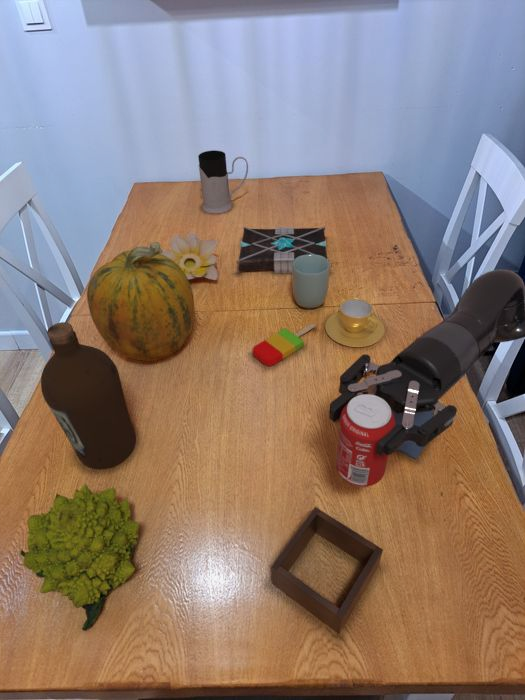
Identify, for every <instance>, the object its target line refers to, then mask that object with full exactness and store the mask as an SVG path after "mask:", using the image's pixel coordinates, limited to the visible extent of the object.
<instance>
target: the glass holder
mask: <svg viewBox="0 0 525 700" xmlns="http://www.w3.org/2000/svg"><path fill="white" fill-rule="evenodd" d="M197 157H198V163H199V164H198V171H199V179H200V186H201V195H202V202H203V203H202V206H201V207H202V210H203V211H204V212H206V213H207V214H223V213H225V212H228V211H230V210H231V209H232V208H233V203H232V202H231V200H232V196H233V195H234V194H235V193H236V192H237V191H238V190H239V189H240V188H241V187H242V186H243V185H244V183H245V182H246V179H247V177H248V172H249V163H248V161H247V159H246V158H245V157H244V156H237V157H235V158H234V159H233V161H232V162H231V165H232V166H231V171H228V169H227V167H228V166H227V157H226V152H225V151H223V150H216V149H215V150H206V151H202V152H201V153H199V154H198V156H197ZM239 159H242V160H243V161H245V164H246V170H245V175H244V178H243V179H242V181H241V183H240V184H239V185H238V186H237V187H236V188H235V189H234V190H233V191H232V192H231V193H230V183H229V175H231V174H233V173H234V170H235V167H234V165H235V162H236V161H237V160H239Z"/></svg>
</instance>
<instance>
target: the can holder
mask: <svg viewBox="0 0 525 700" xmlns="http://www.w3.org/2000/svg"><path fill="white" fill-rule="evenodd" d="M315 534H317V535H319V536H320V537H322V538H323V539H325V540H326V541H328V542H329V543H331V544H332V545H333V546H335V547H337V548H338V549H340V550H342V551H343V552H345V553H346V554H347V555H349V556H351V557H352V558H353V559H355V560H356V561H358V562H360V563H361V564H363V565H364V567H363V569H362V571H361V573H360V574H359V576H358V577H357V579H356V580H355V582H354V584H353V585H352V587H351V589H350V591H349V592H348V594H347V596H346V597H345V599H344V601H343V602H342V604H341V606H340V607H338V606H337V605H336V604H334V603H332V602H331V601H330V600H329V599H327V598H326V597H324V596H323V595H321V594H320V593H318V592H317V591H316V590H314V589H313V588H312V587H311V586H309V585H308V584H307V583H305V582H303V581H302V580H301V579H300V578H298V577H296V575H294V574H292V573H291V572H290V570H291V568H292V567H293V566H294V564H295V562H296V561H297V560H298V558H299V557H300V556H301V554H302V553H303V551H304V550H305V548H306V547H307V545H308V544H309V543H310V541H311V540H312V539H313V537H314V536H315ZM383 551H384V549H383V548H381V546H378V545H377V544H375V543H374V542H372V541H370V540H369V539H367V538H366V537H364V536H363V535H361V534H359V533H357V532H356V531H355V530H353V529H351V528H349V527H348V526H347V525H345V524H343V523H342V522H340V521H339V520H337V519H335V518H334V517H332V516H331V515H329V514H328V513H326V512H324V511H323V510H321V509H320V508H318V507H317V506H315V507H314V508H313V509H312V510H311V512H310V513H309V515H308V516H307V517H306V518H305V520H304V521H303V522H302V524H301V525H300V527H298V529H297V530H296V532H295V534H294V535H293V536H292V538H291V539H290V540H289V541H288V543H287V544H286V546H284V548H283V549H282V551H281V553H280V554H279V555H278V557H277V558H276V560H275V561H274V562H273V563H272V565H271V566H270V569H271V570H270V571H271V573H270V574H271V584H272V585H273V586H274V587H275V588H277V589H278V590H279V591H281V592H282V593H284V594H285V595H286V596H288V597H289V598H290V599H291V600H293V601H294V602H296V604H298V605H299V606H300V607H302V608H303V609H305V611H307V612H309V613H310V614H312V615H313V616H314V617H316V618H317V619H318V620H320V621H321V622H322V623H323V624H325V625H326V626H328V627H329V628H330V629H332V631H334V632H335V633H337V635H340V634H341V632H342V631H343V629H344V627H345V625H346V624H347V623H348V620H349V619H350V617H351V616H352V613H353V612H354V610H355V609H356V606H357V605H358V603H359V602H360V599H361V598H362V596H363V595H364V592H365V591H366V590H367V587H368V586H369V584H370V582H371V580H372V579H373V577H374V575H375V574H376V572H377V570H378V568H379V566H380V562H381V558H382V554H383Z"/></svg>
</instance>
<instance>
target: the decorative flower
mask: <svg viewBox="0 0 525 700" xmlns="http://www.w3.org/2000/svg"><path fill="white" fill-rule="evenodd" d="M218 241H219V240H216V239H214V238H207V239H204V240H200V237H199V234H197V233H196V232H193V231H191V232H188V233H187V235H186V237H184V236H181V235H177V234H176V235H175V234H174V236H172V237H171V239H170V242H169V243H170V244H169V245H170V246H169V247H170V249H166V250H163V252H162V253H160V254H162V255H164V256H166V257H168V258H170V259H171V260H173V261H174V262H175V263H176V264H177V265H178V266H179V267H180V268H181V269H182V270H183V272H184V273H185V275H186V277H187V278H188V280H193V279H196V278H205V279H208V280H214V281H217V279H218V275H219V273H218V270H217V268H216V267H217V266H218V263H217V262H218V257H217V256H216V255H214V254H213V253H214V252H215V250H216V249H217V246H218V244H219V242H218Z"/></svg>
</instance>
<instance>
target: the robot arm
mask: <svg viewBox="0 0 525 700" xmlns="http://www.w3.org/2000/svg"><path fill="white" fill-rule="evenodd" d="M523 338H525V282H524V281H523V278H522V277H521V276H520V275H519V274H518V273H516V272H514V271H512V270H508V269H502V268H501V269H494V270H490V271H487V272H485V273H483V274H481V275H479V276H477V277H476V278H475V279H474V280H473V281H472V282H471V283H470V284H469V285H468V287H467V288H466V289H465V291H464V292H463V294H462V296H461V297H460V299H459V300H458V302H457V303H456V305H455V307H454V308H453V310H452V312H451V313H450V314H449V315H448V316H446V317H445V318H444V319H443V320H442V321H440V322H439V323H438V324H437V325H435V326H433V327H431V328H430V329H428V330H426V331H425V332H424V333H423V334H422V335H420V336H418V337H416V338H415V340H414V341H412V343H410V344H409V345H408V346H407V347H405V348H404V349H402V351H400V352H399V353H398V354H397V355H395V357H394V358H393V359H392V360H391V361H390V362H388V363H384V364H381V365H378V364H377V363H375V362H373V361H371V356H370V354H365V353H364V354H362V355H360V356H359V358H358V359H357V360H356V361H354V362H353V363H352V364H351V365H350V366H348V368H347V369H346V370H345V371H344V372H343V373H342V374H341V375H340V376H339V387H338V392H339V394H340V395H339V396H338V397H336V398H334V400H332V401H331V402H330V403H329V407H328V408H329V410H328V419H329V420H330V421H331V422H333V423H336V422H337V421H339V420H338V419H339V418H340V416H341V412H342V410H343V408H344V407H345V405H346V404H348V403H349V402H350V400H351V399H353V398H354V397H356V396H359V395H364V394H370V395H375V396H378V397H380V398H382V399H383V400H384V401H386V402H387V403H388V405H389V406H390V408H391V409H392V410H393V411H394V412H396V413H397V414H399V413H402V414H403V415H402V421H401V425H399V424H397V425H396V426H395V427H394V428H393V429H392V430H391V431H390V432H389V433H388V434H387V435H385V436H384V437H383V438H382V439H381V440H380V441H379V443H378V444H377V449H376V453H377V454H378V455H380V456H381V457H382V456H383V455H384V454H386V455H388V456H392V454H394V453H395V452H396V451H398V450H397V449H398V448H399V447H400V446H401V445H402V444H403V443H404V442H405V441H408V440H409V441H413V442H415V443H416V445H417V446H419V447H424V448H425V447H426V446H427V445H429V443H431V442H432V441H433V440H434V439H436V438H437V437H438V436H440V435H441V434H443V433H444V432H445V431H446V430H447V429H449V428H450V427H451V426H453V423H454V421H455V417H456V415H457V412H458V409H457V407H456V406H455V405H452V404H449V405H444V404H443V403H442V402H440V401H439V400H440V399H441V398H443V397H444V395H445V394H447V392H449V391H450V390H451V389H452V388H453V387H454V386H455V385H456V384H457V383H458V382H460V380H461V379H462V378H464V377H465V375H466V374H467V373H469V371H470V370H471V368H472V367H473V365H475V364H476V362H478V361H479V360H480V359H481V358H482V357H483V356H484V355H485V354H486V353H487V352H488V351H489V350H490V349H491V348H492V347H493V345H494V343H507V342H512V341H516V340H519V339H523ZM372 375H374V376H372ZM362 379H364V380H363V381H361V380H362ZM375 387H376V391H375V392H373V390H374V388H375ZM360 392H361V393H360ZM432 410H433V416H432V418H431V419H429V420H428V421H426V422H425V423H424V424H422V425H421V426H420V427H419V426H416V425H413V421H414V415H415V413H420V412H428V411H432Z"/></svg>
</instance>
